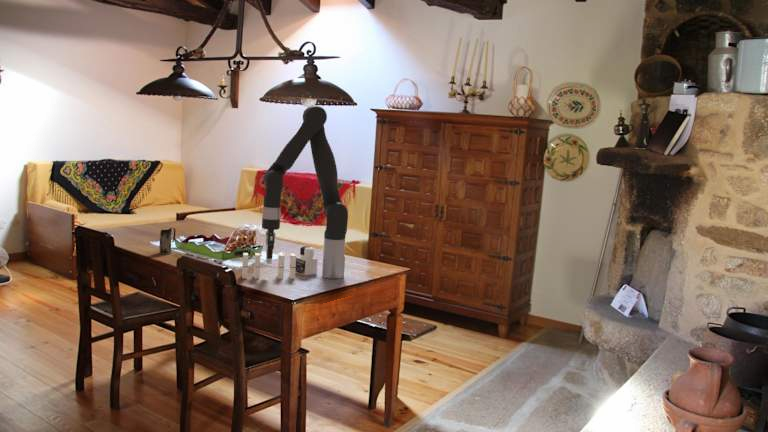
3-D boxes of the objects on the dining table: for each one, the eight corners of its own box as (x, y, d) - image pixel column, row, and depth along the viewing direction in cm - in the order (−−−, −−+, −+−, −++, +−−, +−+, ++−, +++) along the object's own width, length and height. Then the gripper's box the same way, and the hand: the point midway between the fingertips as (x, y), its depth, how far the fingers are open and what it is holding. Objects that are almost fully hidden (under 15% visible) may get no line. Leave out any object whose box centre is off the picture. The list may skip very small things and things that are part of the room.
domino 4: (282, 276, 279) (283, 253, 277) (283, 278, 274) (284, 255, 273) (277, 275, 278) (278, 253, 277) (278, 278, 273) (279, 255, 272)
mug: (164, 254, 305) (164, 229, 303) (156, 253, 308) (157, 228, 306) (177, 252, 312) (178, 228, 310) (170, 251, 314) (171, 226, 313)
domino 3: (270, 261, 277) (271, 238, 275) (271, 263, 272) (272, 240, 270) (265, 261, 276) (267, 238, 275) (266, 263, 271) (267, 240, 270)
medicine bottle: (294, 272, 287) (296, 246, 285) (307, 270, 292) (308, 245, 290) (304, 275, 282) (305, 249, 280) (317, 274, 287) (318, 247, 285)
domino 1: (247, 275, 275) (247, 252, 274) (247, 278, 270) (248, 255, 269) (242, 275, 274) (243, 252, 273) (242, 278, 270) (243, 255, 268)
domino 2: (258, 275, 276) (259, 253, 275) (259, 278, 271) (260, 255, 270) (254, 275, 276) (255, 252, 274) (254, 278, 271) (255, 255, 270)
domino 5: (293, 276, 280) (294, 253, 279) (295, 278, 275) (296, 256, 274) (289, 276, 279) (290, 253, 278) (290, 278, 275) (291, 255, 273)
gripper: (281, 220, 265) (279, 260, 268) (278, 215, 279) (276, 253, 281) (263, 219, 264) (261, 260, 266) (261, 214, 277) (259, 253, 280)
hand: (269, 256), depth 274 cm, fingers closed on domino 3, 5 cm apart
